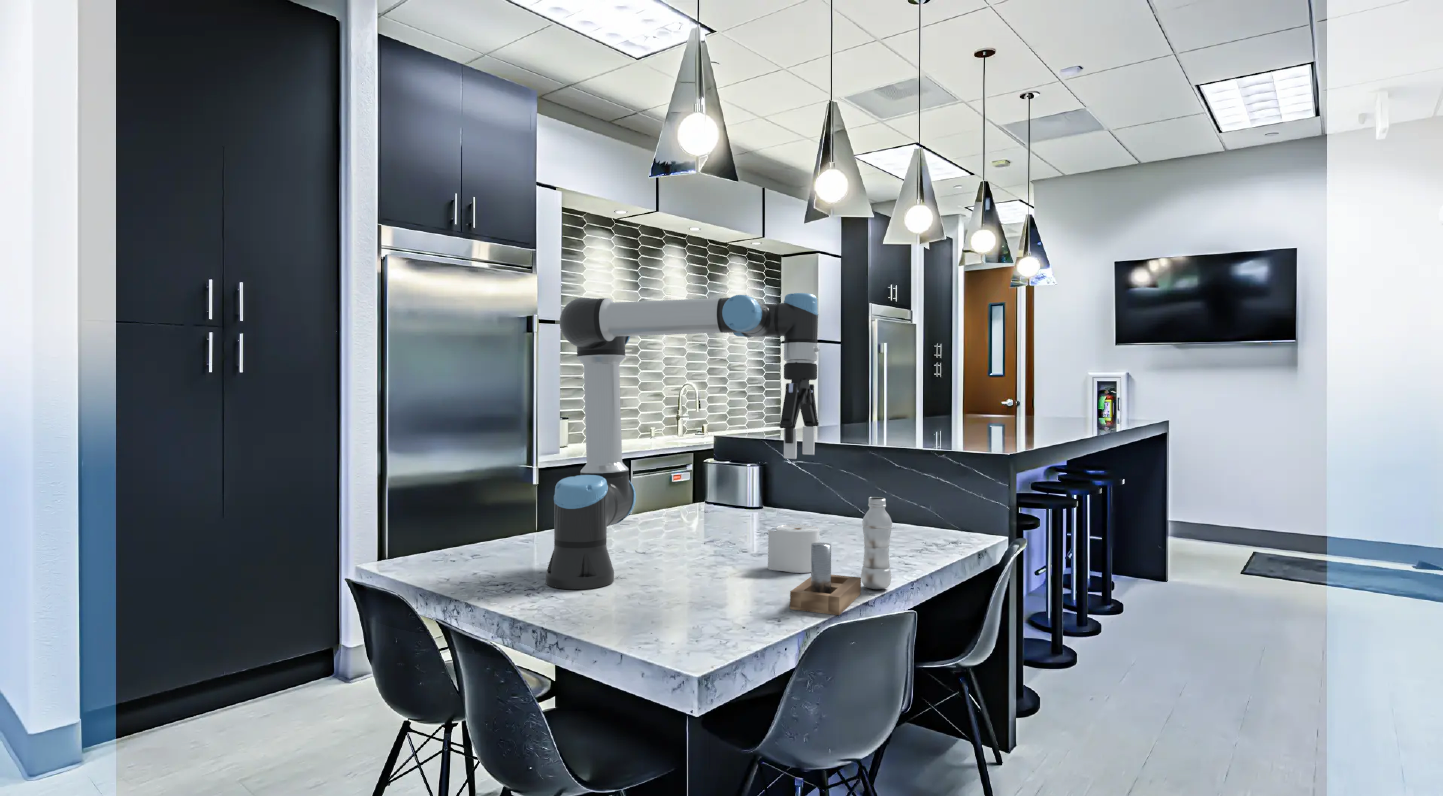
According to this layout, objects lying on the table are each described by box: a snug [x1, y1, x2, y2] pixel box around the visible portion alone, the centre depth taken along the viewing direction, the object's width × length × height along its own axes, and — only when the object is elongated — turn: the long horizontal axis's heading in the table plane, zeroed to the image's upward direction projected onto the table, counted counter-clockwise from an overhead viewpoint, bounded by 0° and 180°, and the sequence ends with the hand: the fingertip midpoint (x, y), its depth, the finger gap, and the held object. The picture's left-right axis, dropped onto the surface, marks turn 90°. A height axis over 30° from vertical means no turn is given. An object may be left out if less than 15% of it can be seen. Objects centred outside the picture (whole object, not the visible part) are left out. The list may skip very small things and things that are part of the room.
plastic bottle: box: [860, 496, 893, 590], centre depth 172 cm, size 6×7×20 cm
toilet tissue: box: [767, 523, 820, 574], centre depth 191 cm, size 11×12×10 cm
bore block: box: [789, 574, 862, 616], centre depth 161 cm, size 10×18×4 cm, turn 157°
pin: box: [810, 542, 832, 594], centre depth 157 cm, size 4×4×12 cm
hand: (799, 456), depth 176 cm, fingers open, 13 cm apart
